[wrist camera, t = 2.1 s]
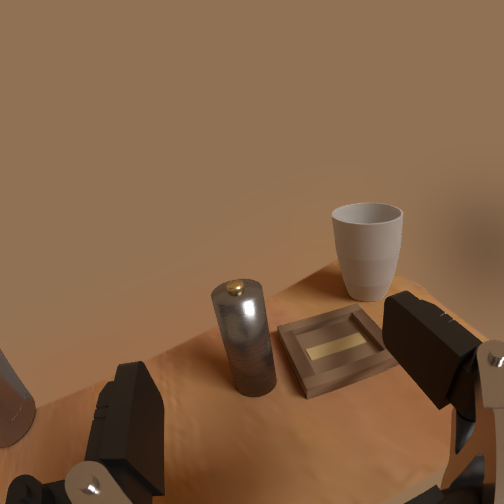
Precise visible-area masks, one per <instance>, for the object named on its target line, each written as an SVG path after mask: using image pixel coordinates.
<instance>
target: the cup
mask: <svg viewBox="0 0 504 504" xmlns="http://www.w3.org/2000/svg"><path fill="white" fill-rule="evenodd" d="M332 220H333V228H334V236H335V244H336V251H337V255H338V260H339V265H340V270H341V275H342V278H343V280H344V283H345V286H346V289H347V291H348V294H349V295H350V297H352V298H353V299H355V300H358V301H363V302H373V301H377V300H380V299H382V298H383V297H385V295H386V294H387V292H388V289H389V287H390V284H391V282H392V280H393V277H394V274H395V269H396V266H397V261H398V256H399V252H400V246H401V235H402V222H403V212H402V210H401V209H399V208H397V207H395V206H392V205H388V204H382V203H355V204H349V205H345V206H341V207H339V208H337V209H335V210H334V211H333V212H332Z"/></svg>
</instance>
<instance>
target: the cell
mask: <svg viewBox="0 0 504 504" xmlns="http://www.w3.org/2000/svg"><path fill="white" fill-rule="evenodd" d="M211 298H212V302H213V306H214V310H215V314H216V317H217V321H218V325H219V329H220V332H221V336H222V339H223V343H224V347H225V350H226V354H227V357H228V361H229V364H230V368H231V371H232V374H233V378H234V381H235V384H236V388H237V390H238V391H239V392H240V393H241V394H243V395H245V396H248V397H260V396H263V395H266V394H268V393H269V392H271V391H272V390H273V389H274V387H275V386H276V383H277V378H276V372H275V365H274V359H273V353H272V347H271V340H270V334H269V328H268V322H267V316H266V309H265V303H264V297H263V291H262V286H261V285H260V283H259V282H257V281H254V280H250V279H237V280H232V281H228V282H226V283H223V284H221V285H220V286H218V287H217V288H215V289H214V290H213V292H212V294H211Z"/></svg>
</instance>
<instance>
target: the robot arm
mask: <svg viewBox="0 0 504 504" xmlns="http://www.w3.org/2000/svg"><path fill="white" fill-rule="evenodd" d="M382 339H383V343H384V345H385V347H386V349H387V350H388V351H389V353H390V354H391V355H392V356H393V357H394V358H395V359H396V360H397V362H398V363H399V364H400V365H401V366H402V367H403V368H404V370H405V371H406V372H407V373H408V374H409V375H410V376H411V378H412V379H413V380H414V381H415V382H416V383H417V385H418V386H419V387H420V388H421V389H422V390H423V392H424V393H425V394H426V395H427V396H428V397H429V399H430V400H431V401H432V402H433V403H434V405H435V406H436V407H437V408H438V409H439V410H440V409H442V408H443V407H445V406H447V405H448V404H450V403H451V404H452V405H453V406H454V407H453V410H452V420H451V444H450V457H449V462H448V465H447V468H446V470H445V473H444V476H443V479H442V483H441V489H439V488H438V486H437V485H435V486H434V487H432V488H430V489H429V490H427V491H425V492H424V493H422V494H420V495H419V496H417V497H415V498H413V499H412V500H410V501H408V502H406V503H405V504H504V342H501V341H497V340H489V341H486V342H484V343H483V342H481V341H480V340H479V339H478V338H477V337H475V336H474V335H473V334H472V333H470V332H469V331H468V330H467V329H465V328H464V327H463V326H462V325H460V324H459V323H458V322H457V321H455V320H454V321H453V318H452V317H450V316H449V315H448V314H445V312H444V311H443V310H441V309H440V308H439V307H437V306H436V305H435V304H432V303H429V302H427V301H424V300H419V299H418V298H417V297H415V296H414V295H413V294H411V293H410V292H409V291H403V292H400V293H397V294H395V295H392V296H389V297H387V298H386V299H385V303H384V315H383V327H382ZM96 408H97V409H95V413H94V420H93V422H92V426H91V431H90V435H89V440H88V445H87V450H86V455H85V460H84V462H81V463H79V464H77V465H75V466H74V467H73V468H72V469H70V471H69V472H68V474H67V476H66V479H65V480H61V481H56V482H52V483H47V484H42V483H41V482H39V481H38V480H37V479H36V478H34V477H33V476H30V475H20V476H18V477H16V478H15V479H14V480H13V481H12V482H11V484H10V486H9V488H8V492H7V498H6V503H5V504H152V496H165V488H164V404H163V400H162V397H161V394H160V392H159V390H158V389H157V387H156V385H155V383H154V381H153V379H152V377H151V376H150V374H149V372H148V370H147V368H146V366H145V364H144V363H143V362H142V361H138V362H131V363H125V364H119V366H118V367H117V371H116V375H115V379H114V381H111V382H108V383H107V384H106V385H105V387H104V388H103V390H102V391H101V392H100V394H99V397H98V401H97V405H96ZM34 415H35V401H34V399H33V397H32V396H31V394H30V393H29V392H28V390H27V389H26V388H25V386H24V385H23V383H22V382H21V380H20V379H19V378H18V376H17V375H16V373H15V372H14V370H13V369H12V367H11V365H10V364H9V362H8V361H7V359H6V358H5V356H4V354H3V353H2V351H1V350H0V448H3V447H7V446H10V445H11V444H13V443H15V442H16V441H18V440H19V439H20V438H21V437H22V436H23V435H24V434H25V433H26V432H27V430H28V429H29V427H30V426H31V423H32V421H33V419H34Z"/></svg>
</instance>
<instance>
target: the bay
mask: <svg viewBox="0 0 504 504" xmlns="http://www.w3.org/2000/svg"><path fill="white" fill-rule="evenodd" d="M277 329H278V336H279V339H280V341H281V343H282V345H283V347H284V350H285V352H286V354H287V356H288V358H289V360H290V363H291V365H292V367H293V369H294V371H295V374H296V376H297V378H298V380H299V382H300V384H301V387H302V389H303V391H304V393H305V395H306V397H307V399H309V398H312V397H315V396H318V395H322V394H324V393H327V392H330V391H333V390H336V389H339V388H342V387H344V386H347V385H350V384H352V383H355V382H358V381H360V380H363V379H365V378H368V377H370V376H373V375H375V374H377V373H380V372H382V371H384V370H387V369H389V368H391V367H394V366H396V365H398V364H399V363H398V362H397V360H396V359H395V358H394V357H393V356H392V355H391V354H390V353H389V351H388V350H387V349H386V347H385V345H384V343H383V339H382V330H381V329H380V328H379V326H378V325H377V324H376V323H375V322H374V321H373V320H372V319H371V318H370V317H369V316H368V315H367V314H366V313H365V312H364V311H363V310H362V308H361V307H360V306H359V305H358V304H353V305H350V306H347V307H344V308H341V309H337V310H334V311H331V312H327V313H324V314H321V315H317V316H314V317H310V318H307V319H303V320H299V321H296V322H292V323H288V324H285V325H281V326H277Z"/></svg>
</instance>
